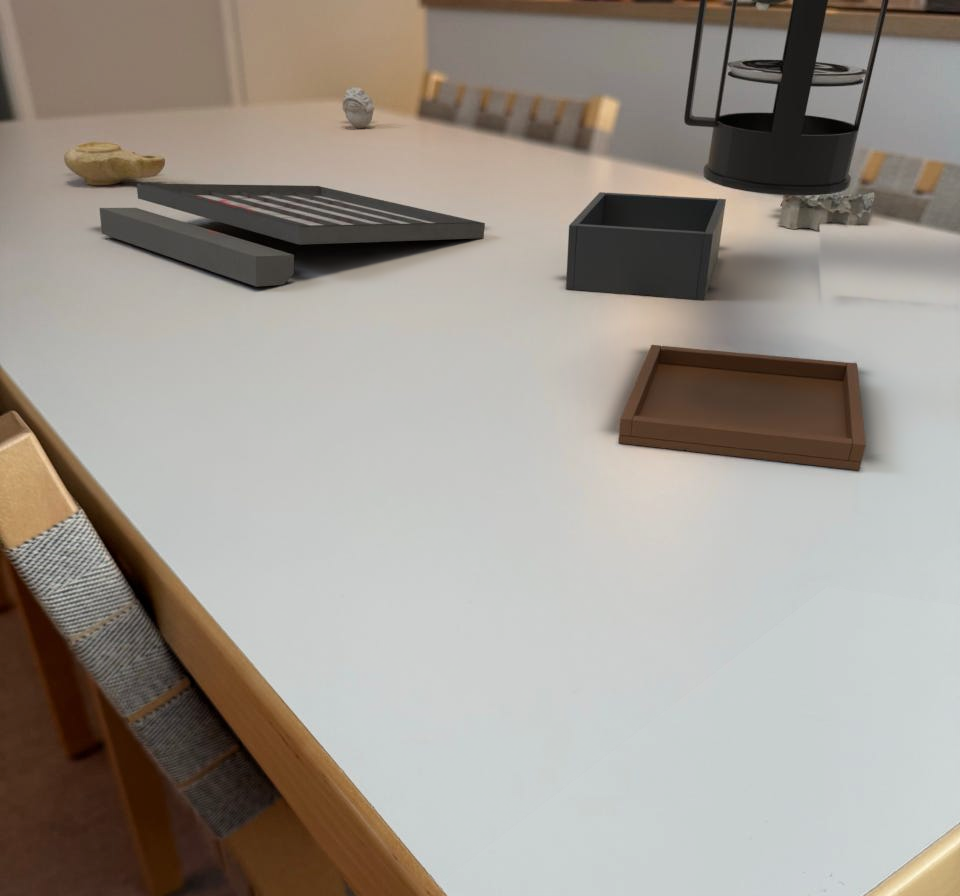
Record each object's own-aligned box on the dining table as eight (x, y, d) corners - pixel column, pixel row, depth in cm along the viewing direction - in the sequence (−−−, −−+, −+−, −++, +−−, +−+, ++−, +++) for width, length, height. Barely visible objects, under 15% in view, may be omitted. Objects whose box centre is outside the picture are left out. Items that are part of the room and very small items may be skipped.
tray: (852, 385, 74) (857, 362, 73) (859, 470, 61) (866, 444, 60) (649, 366, 77) (651, 344, 76) (618, 443, 65) (620, 418, 64)
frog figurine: (337, 130, 184) (334, 88, 180) (353, 125, 189) (350, 84, 185) (366, 131, 182) (364, 89, 178) (381, 126, 188) (379, 85, 184)
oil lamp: (169, 187, 137) (162, 149, 134) (63, 192, 135) (54, 152, 132) (170, 174, 146) (164, 137, 143) (71, 178, 143) (63, 141, 140)
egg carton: (773, 228, 117) (778, 191, 115) (784, 216, 123) (790, 181, 120) (864, 236, 113) (872, 198, 111) (871, 223, 119) (879, 187, 116)
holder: (717, 258, 105) (726, 199, 102) (704, 300, 92) (712, 234, 89) (595, 249, 108) (599, 192, 105) (565, 289, 95) (568, 225, 92)
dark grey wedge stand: (318, 241, 133) (103, 248, 113) (317, 185, 130) (95, 182, 110) (482, 272, 114) (259, 287, 94) (485, 207, 111) (255, 209, 91)
